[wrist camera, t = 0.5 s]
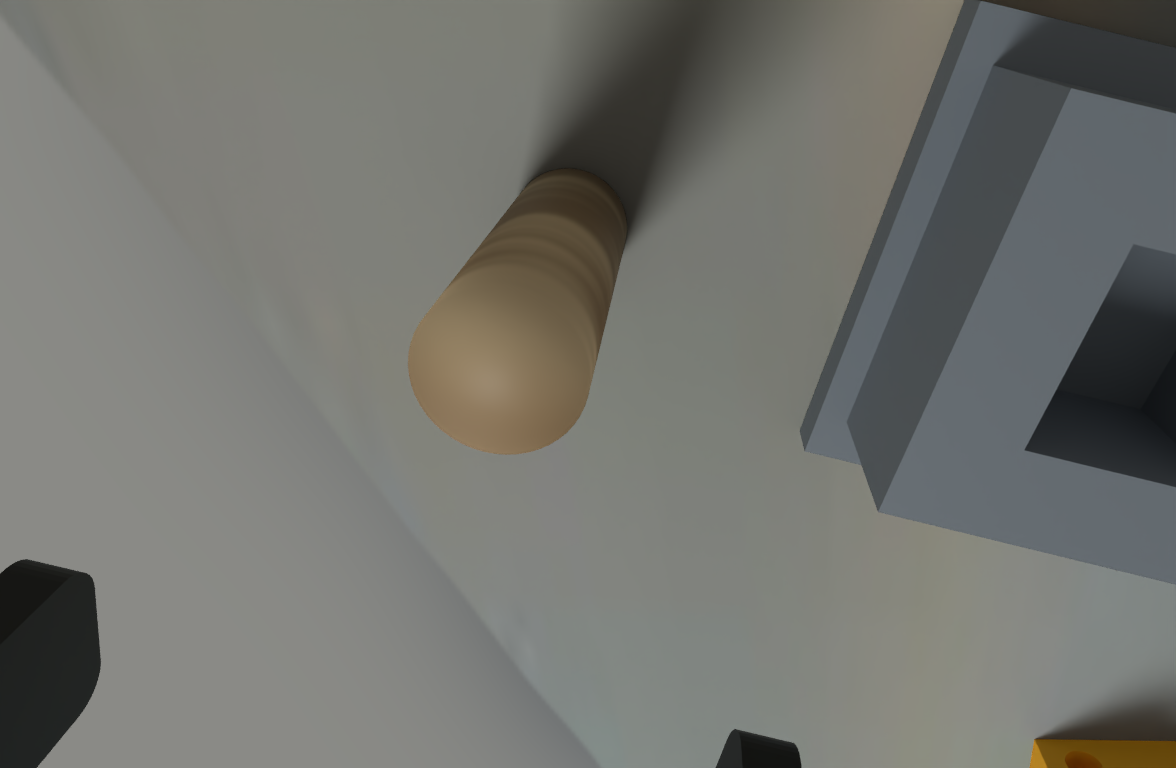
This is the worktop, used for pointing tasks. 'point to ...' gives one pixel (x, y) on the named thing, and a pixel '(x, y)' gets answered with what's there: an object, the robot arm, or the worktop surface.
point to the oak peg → (523, 319)
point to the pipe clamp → (1103, 754)
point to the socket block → (1023, 301)
